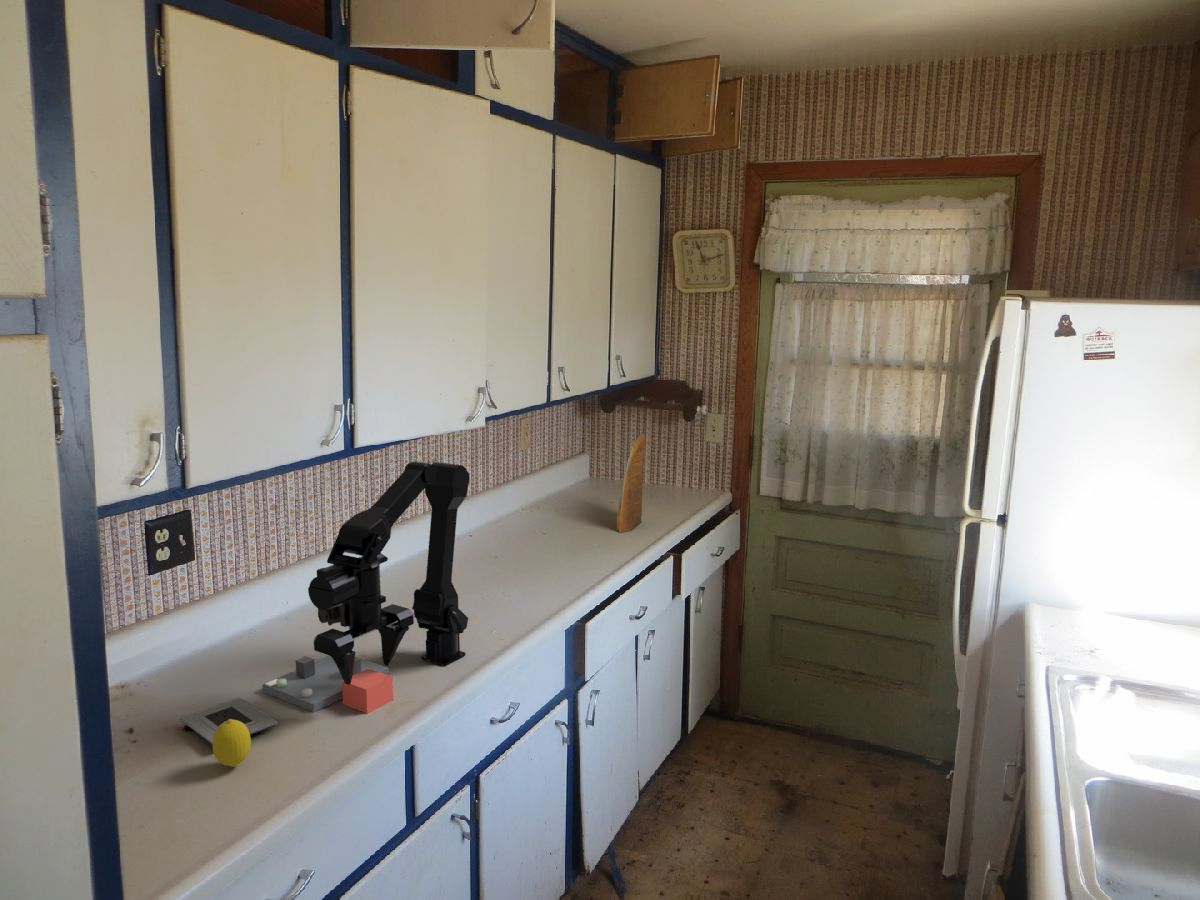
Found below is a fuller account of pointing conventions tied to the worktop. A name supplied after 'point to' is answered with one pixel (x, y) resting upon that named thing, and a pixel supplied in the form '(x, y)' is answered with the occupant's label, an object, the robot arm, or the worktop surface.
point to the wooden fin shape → (632, 489)
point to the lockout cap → (368, 690)
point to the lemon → (231, 743)
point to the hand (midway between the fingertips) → (367, 674)
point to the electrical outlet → (234, 710)
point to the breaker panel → (315, 684)
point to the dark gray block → (305, 667)
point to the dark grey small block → (357, 666)
